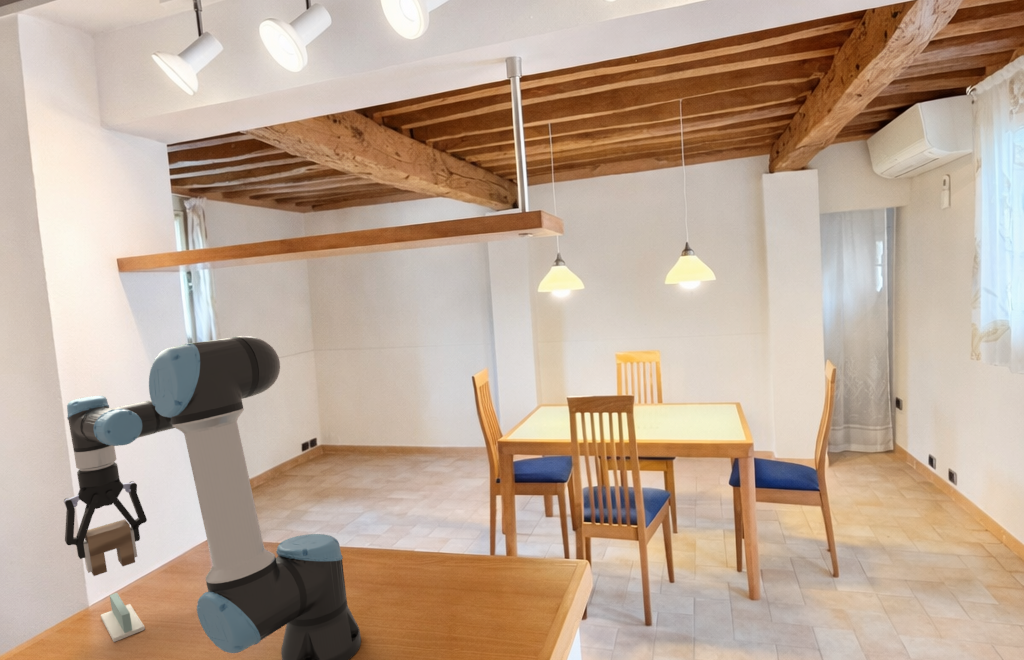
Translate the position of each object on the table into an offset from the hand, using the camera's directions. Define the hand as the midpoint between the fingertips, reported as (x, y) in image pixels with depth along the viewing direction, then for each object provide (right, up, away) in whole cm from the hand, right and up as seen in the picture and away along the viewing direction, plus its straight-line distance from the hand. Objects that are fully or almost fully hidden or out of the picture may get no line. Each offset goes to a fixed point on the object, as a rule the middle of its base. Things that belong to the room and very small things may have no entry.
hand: (112, 562), depth 140 cm
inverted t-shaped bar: (+1, -14, +1) cm, 15 cm away
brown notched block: (0, -1, 0) cm, 1 cm away
